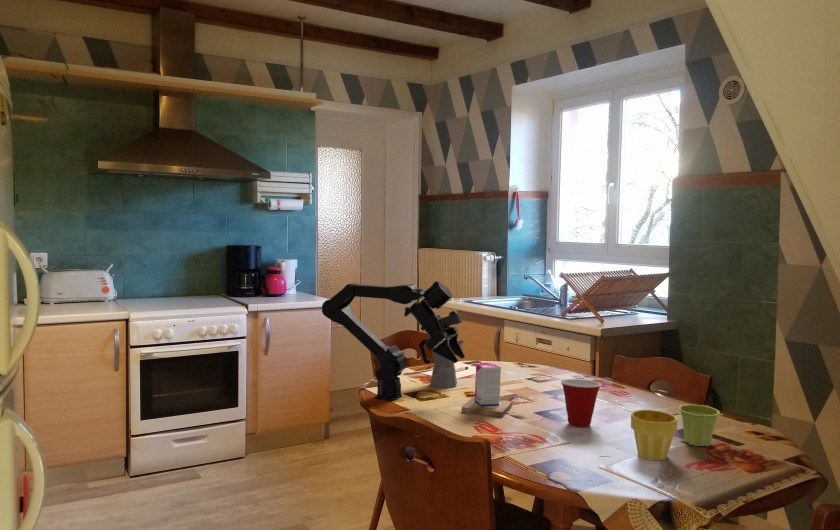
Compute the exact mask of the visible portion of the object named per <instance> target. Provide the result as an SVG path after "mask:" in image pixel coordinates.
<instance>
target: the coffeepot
mask: <svg viewBox="0 0 840 530" xmlns="http://www.w3.org/2000/svg"><path fill="white" fill-rule="evenodd" d="M428 339H429V338H423V339H422V340H421V341H420V342H419V343H418V349H419V351H420V355H421V356H422V360H423V363H424V364H431V360H430V359H429V360H428V359H427V353H426V348H425V345H426V341H427V340H428ZM458 342H459V345H460V347H461V346H462V345H463V344H464V343H465V342H464V340H462V339H459V338H458ZM434 348H435V347H433V349H434ZM433 349H432V350H433ZM432 350H431V351H432ZM455 356H456V357H457V355H455ZM432 359H433V360H434V364H433V368H432V372H431V378H430V382H429V383H430V386H432V387H434V386H435V388H439V387H441V388H440V389H450V388H449V387H452V388H455V387H457V385H458V381H457V372H456V366H455V363H454V362H452V361H450V360H448V359H446V358H445V357H443V356H441V355H439V354H437V353H435V352H432Z"/></svg>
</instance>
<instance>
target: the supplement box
mask: <svg viewBox="0 0 840 530" xmlns="http://www.w3.org/2000/svg"><path fill="white" fill-rule="evenodd" d="M475 365H476V366H475V383H474V397H475V401H474V402H476V403H477V404H479V405H480V406H481V407H486V406H499V401H500V400H501V399H500V398H501V397H500V396H501V394H500V393H501V378H502V377H501V372H502V371H501V368H502V367H501V366H500V365H498V364H495V363H490V362H489V363H487V362H486V363H476V364H475Z"/></svg>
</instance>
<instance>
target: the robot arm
mask: <svg viewBox="0 0 840 530" xmlns="http://www.w3.org/2000/svg"><path fill="white" fill-rule="evenodd" d="M356 297H359V298H370V299H384V300H389V301H391V302H393V303H397V304H401V305H408V304H411V305H410V306H405V307H404V315H403V316H404V317H409V316H411V315H412V316H413V318H414V319H415V320H416V322H417V323H418V324H419V325H420V330H421V331H424V332H425V333H426V335H428V336H429V338H427V339H428V340H427V341H426V344H425V345H424V347H426V348H427V350H428V351H431V353H433V352H435V353H437V354H439V355H441V356H443V357H445V358H446V359H448V360H450V361H452V362H454V364H456V363H458V362H459V360H458V358H457V357H459V358H460V359H464V358H465V353H464V351H463V349H462V347H461V346H460V345H459V342H458V339H459V335H460V333H459V331H460V330H459V329H458V328H457V326H454V325H459V324H460V323H463V319H462V314H461V312H459V311H458V312H457V311H456V310H452V311H449V312H448V315H447V316H444V317H442V316H441V315H440V314H436V313H435V311H434V310H433V309H436V310H440V309H441V307H443V306H445V304H447V303H448V302H449V301H450V300H451V299H452V298H453V293H452V292H451V290H450V289H449V288H448V287H447V286H445V285H444V284H443V283H441V282H440V280H436V281H434V282H433V283H432V285H431V286H430V287H428V289H426V290H425V289H421V288H418V287H417V285H415V284H414V283H406V284H405V283H404V284H397V285H389V286H388V285H377V284H375V285H374V284H364V283H363V284H361V283H360V284H359V283H355V282H353V283H348V284H346V285H345V286H344V287H343V288H341V290H340V291H338V292H337V293H336V294H334V295H333V296H332V297H331V298H330V299H326V300H325V301H324V302H323V303H322V306H321V313H322V315H323V316H325V318H327V319H329V320H330V321H331V322H333V323H336V324H338V325H341V326H342V327H343V328H345V329H346V330H347V331H348V332H349V333H350V334H351V335H352V336H354V338H356V339H357V341H359V342H360V344H362V345H363V346H364V347H365V348H367V350H368V351H369V352H370V353H372V354H373V356H375V359H376V360H377V363H378V365H379V366H380V368H379V369H378V370H376V372H374V374H375V378H376V380H377V389H376V390H377V391H376V394H375V395H374V398H377V399H381V400H385V401H386V400H387V401H394V400H396V399H399V398H401V397H403V394H402V383H401V377H399V376H401V375H402V372H403V371H404V370H405V369H406V368H407V366H408V359H407V357H406V355H405V354H406V353H405V352H404V351H402V350H400V349H399V347H398V346H397V345H396V344H394V345H393V346H388V345H387V344H385V343H384V342H383V341H382V340H381V339H379V337H378V336H377V335H375V334H374V333H373V332H372V331H371V330H370V329H369V328H368V327H366V325H365V324H364V323H362V321H360V319H358V318H357V317H356V316H355V315H354V313H353V311H352V309H351V307H350V306H349V305H351V303H352V302H353V301H354V299H355V298H356ZM421 299H422V300H421ZM417 300H421V301H420V302H419V301H417ZM412 303H413V304H412ZM433 347H435V348H434V349H433ZM432 349H433V350H432ZM455 355H456V356H455Z"/></svg>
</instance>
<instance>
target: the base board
mask: <svg viewBox="0 0 840 530" xmlns="http://www.w3.org/2000/svg"><path fill="white" fill-rule="evenodd" d="M474 401H475V396H473V397H471V398H470V399H469V400H468V401H467V402H466V403H465V404H463V405H462V406H461V413H464V412H466V413H467V414H472V413H474V415H480V414H483V415H482V416H488V415H491V417H496V416H498V418H504V416H505V415H506V414H507V413H508V412H509V411H510V410H511V408H512V407H513V401H509V400H502V399H500V401H499V406H486V407H481V406H480V405H479V404H477V403H476V402H474ZM508 410H509V411H508ZM507 411H508V412H507Z"/></svg>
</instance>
